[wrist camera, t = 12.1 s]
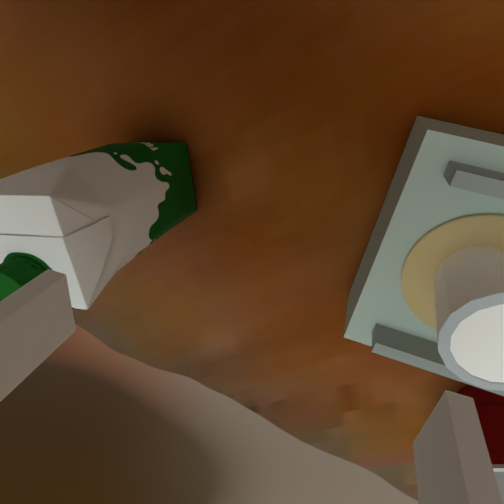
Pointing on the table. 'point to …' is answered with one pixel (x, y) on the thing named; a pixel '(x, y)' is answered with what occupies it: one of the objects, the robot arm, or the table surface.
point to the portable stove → (426, 238)
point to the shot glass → (472, 315)
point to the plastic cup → (491, 427)
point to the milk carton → (91, 214)
